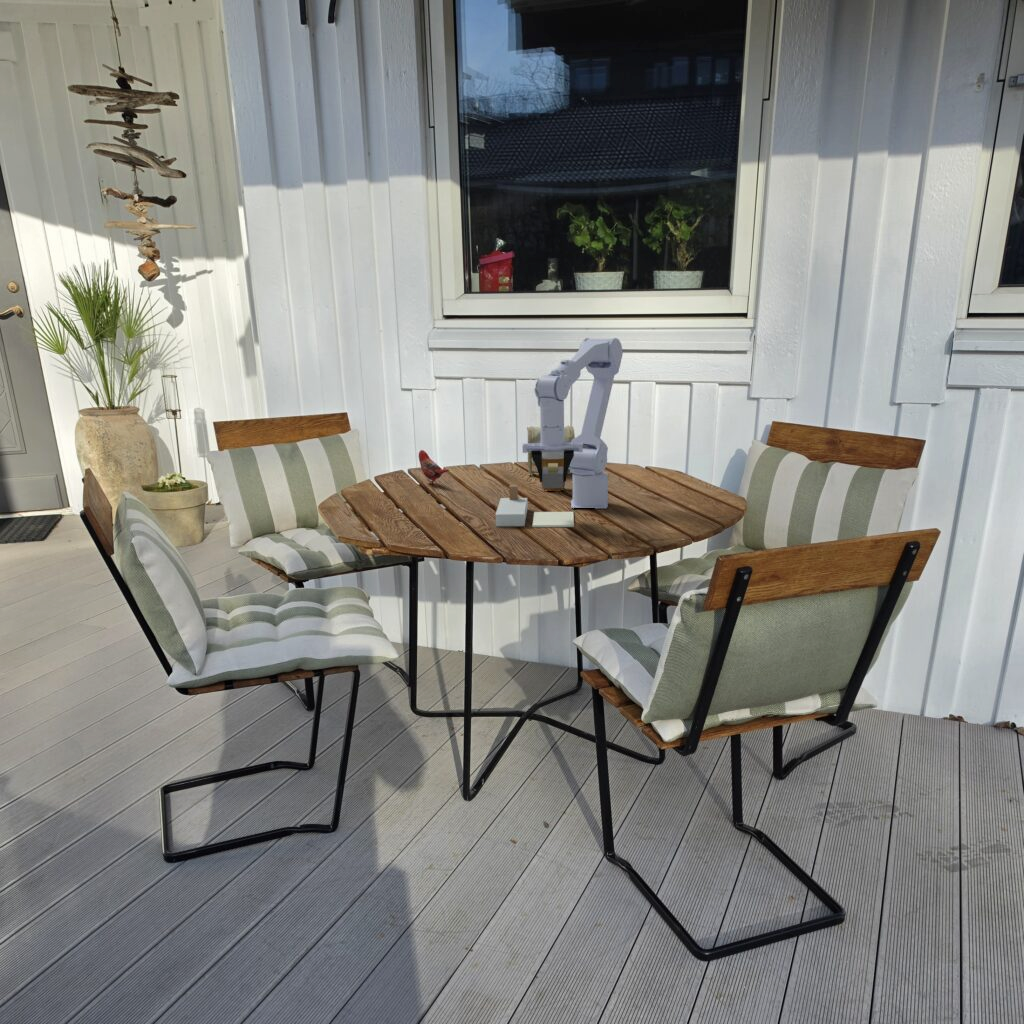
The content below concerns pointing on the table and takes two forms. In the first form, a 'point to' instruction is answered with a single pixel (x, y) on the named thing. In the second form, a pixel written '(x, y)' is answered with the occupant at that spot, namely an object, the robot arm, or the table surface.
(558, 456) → the disposable coffee cup
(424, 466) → the decorative bird figurine
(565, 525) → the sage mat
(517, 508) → the white rectangular block
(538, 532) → the table surface
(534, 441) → the swing bench
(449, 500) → the table surface
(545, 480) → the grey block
